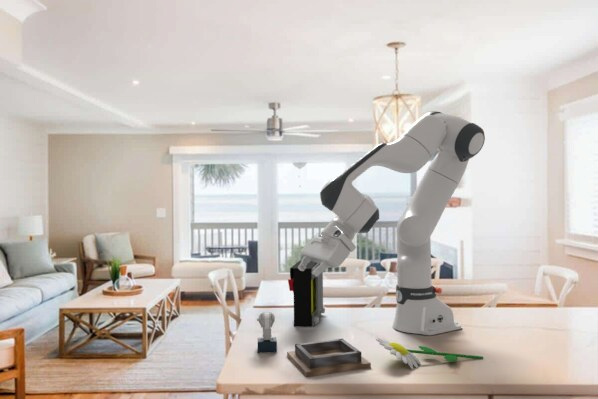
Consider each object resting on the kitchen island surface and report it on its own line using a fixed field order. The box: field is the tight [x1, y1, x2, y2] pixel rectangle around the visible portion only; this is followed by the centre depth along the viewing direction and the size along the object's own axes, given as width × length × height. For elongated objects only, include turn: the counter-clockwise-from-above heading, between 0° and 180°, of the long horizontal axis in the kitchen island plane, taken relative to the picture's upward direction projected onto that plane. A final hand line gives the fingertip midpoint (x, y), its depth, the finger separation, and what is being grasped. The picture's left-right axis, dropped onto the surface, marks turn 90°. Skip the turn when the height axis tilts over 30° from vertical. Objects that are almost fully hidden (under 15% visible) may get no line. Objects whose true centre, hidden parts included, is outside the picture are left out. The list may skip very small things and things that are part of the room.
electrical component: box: [287, 259, 326, 328], centre depth 174 cm, size 18×10×20 cm, turn 168°
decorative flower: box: [376, 337, 484, 370], centre depth 132 cm, size 13×5×30 cm
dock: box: [286, 338, 372, 378], centre depth 132 cm, size 18×16×4 cm
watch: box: [256, 311, 278, 354], centre depth 142 cm, size 6×8×11 cm
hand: (306, 272), depth 145 cm, fingers open, 8 cm apart
